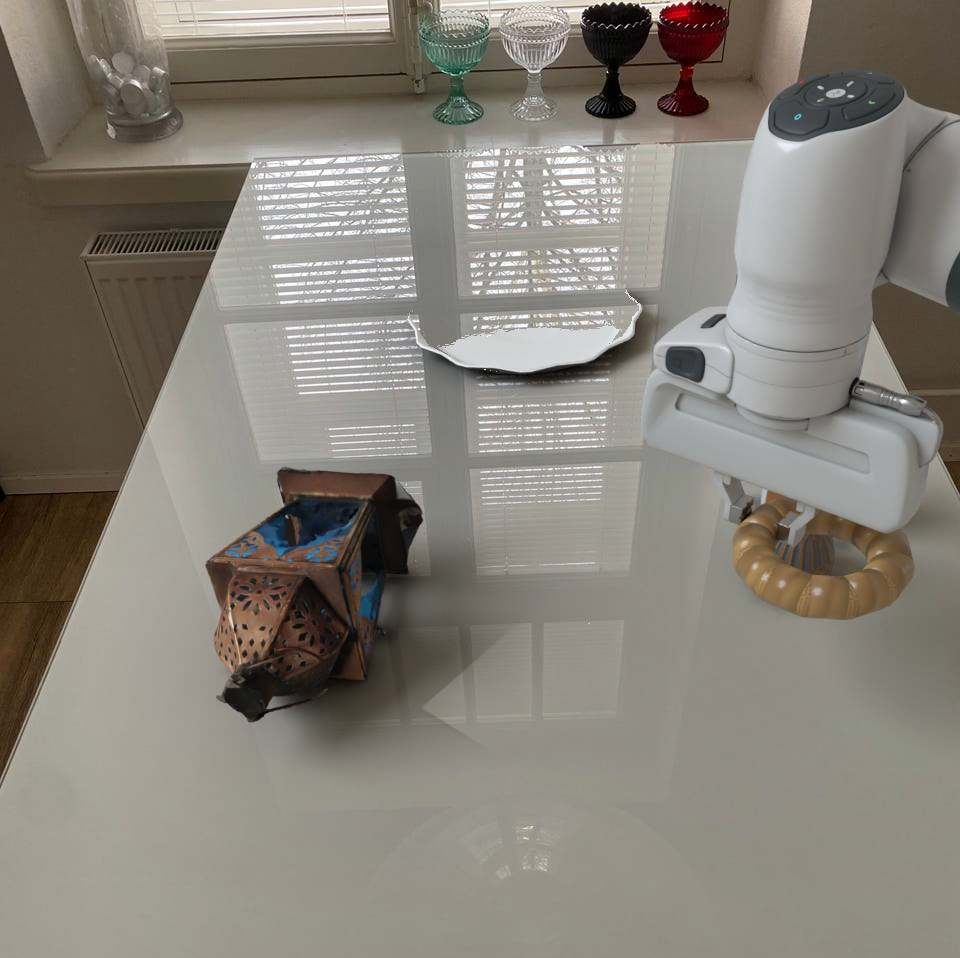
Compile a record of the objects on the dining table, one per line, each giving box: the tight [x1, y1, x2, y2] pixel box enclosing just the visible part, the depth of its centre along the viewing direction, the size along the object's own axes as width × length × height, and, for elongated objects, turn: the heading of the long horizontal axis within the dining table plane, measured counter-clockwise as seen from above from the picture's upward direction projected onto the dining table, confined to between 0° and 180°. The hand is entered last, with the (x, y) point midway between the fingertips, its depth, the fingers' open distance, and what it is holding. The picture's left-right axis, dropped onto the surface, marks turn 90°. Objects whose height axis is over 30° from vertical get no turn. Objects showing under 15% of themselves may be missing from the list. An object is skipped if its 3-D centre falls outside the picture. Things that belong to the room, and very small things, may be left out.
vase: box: [775, 534, 836, 576], centre depth 87 cm, size 7×7×9 cm
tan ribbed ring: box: [732, 497, 915, 621], centre depth 72 cm, size 12×12×3 cm
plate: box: [406, 289, 644, 376], centre depth 127 cm, size 29×29×2 cm
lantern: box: [204, 465, 424, 723], centre depth 83 cm, size 16×16×25 cm
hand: (762, 529), depth 74 cm, fingers closed on tan ribbed ring, 3 cm apart
